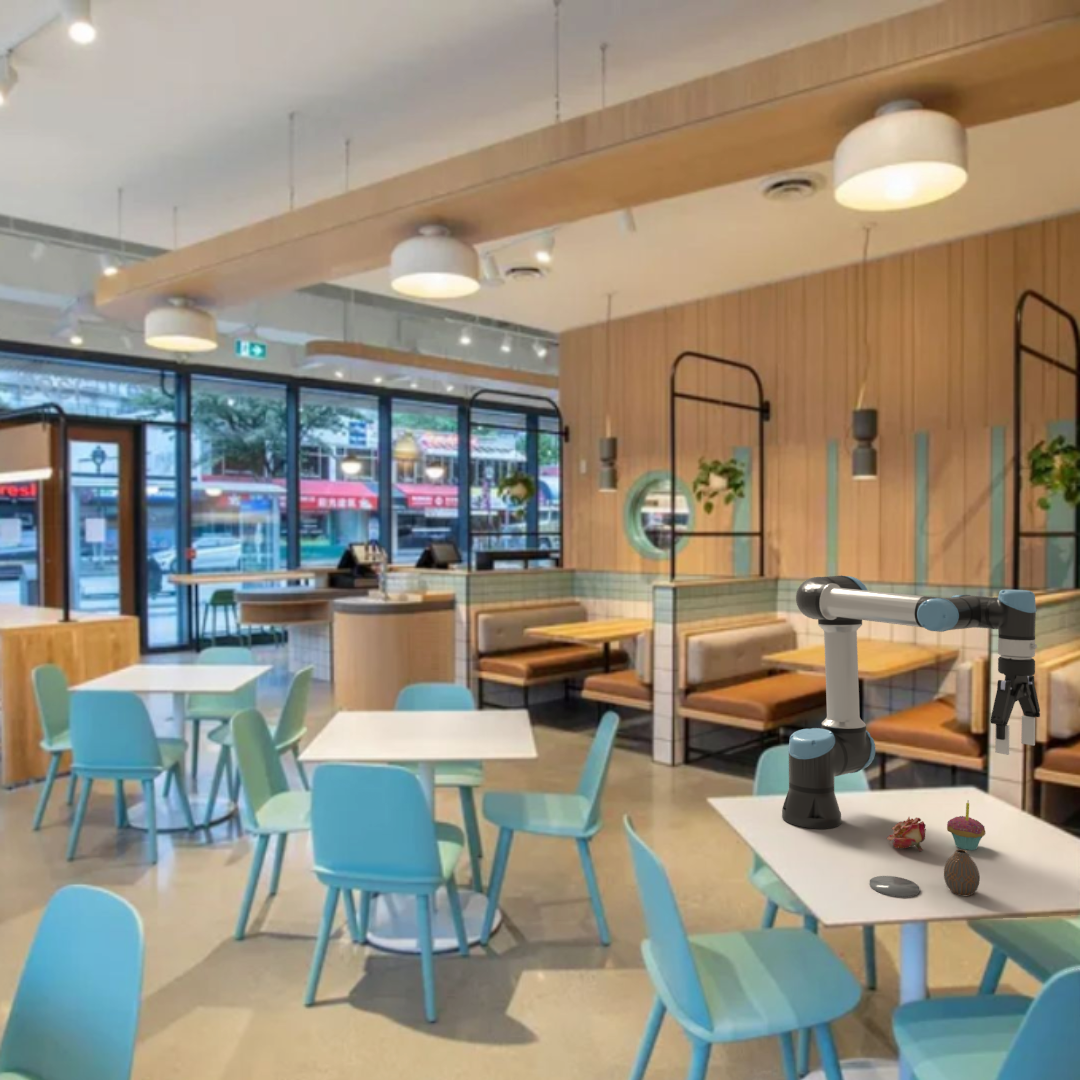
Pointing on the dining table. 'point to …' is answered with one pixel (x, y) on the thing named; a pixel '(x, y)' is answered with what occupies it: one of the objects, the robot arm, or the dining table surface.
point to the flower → (908, 833)
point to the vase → (961, 874)
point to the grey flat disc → (894, 886)
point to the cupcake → (966, 831)
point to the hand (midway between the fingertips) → (1015, 748)
